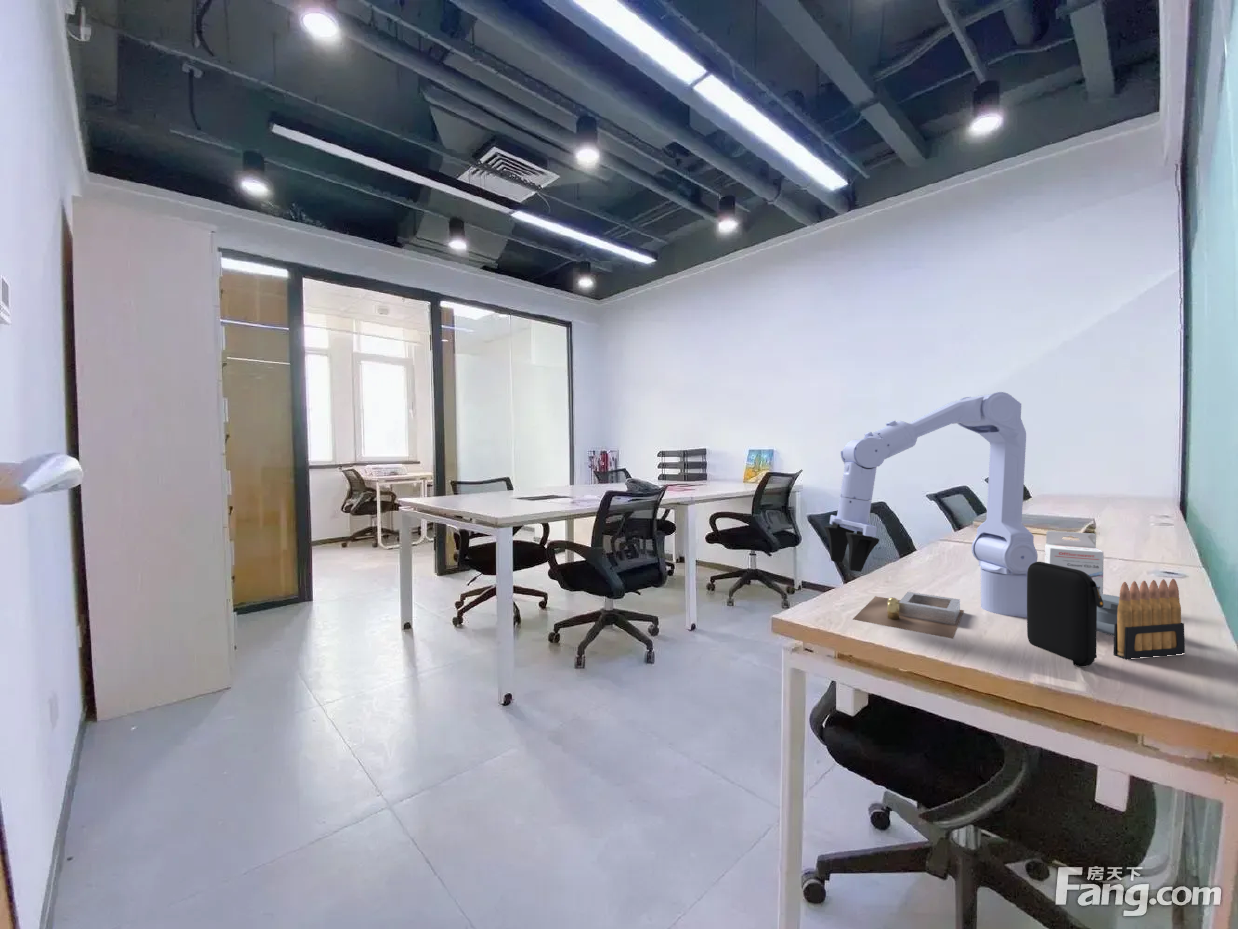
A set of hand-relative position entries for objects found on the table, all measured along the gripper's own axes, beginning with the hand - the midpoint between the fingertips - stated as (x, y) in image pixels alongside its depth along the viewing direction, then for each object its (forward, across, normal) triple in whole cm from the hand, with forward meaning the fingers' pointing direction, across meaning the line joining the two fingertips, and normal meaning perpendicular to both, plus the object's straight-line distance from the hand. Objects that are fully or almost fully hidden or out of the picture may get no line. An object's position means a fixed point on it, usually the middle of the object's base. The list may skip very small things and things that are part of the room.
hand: (845, 565), depth 96 cm
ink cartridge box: (+2, -5, +52) cm, 53 cm away
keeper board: (+8, +2, +13) cm, 16 cm away
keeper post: (+8, +4, +9) cm, 13 cm away
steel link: (+7, +2, +17) cm, 18 cm away
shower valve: (+3, +8, +48) cm, 48 cm away
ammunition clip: (+4, +20, +40) cm, 45 cm away
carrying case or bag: (+7, +21, +25) cm, 34 cm away
